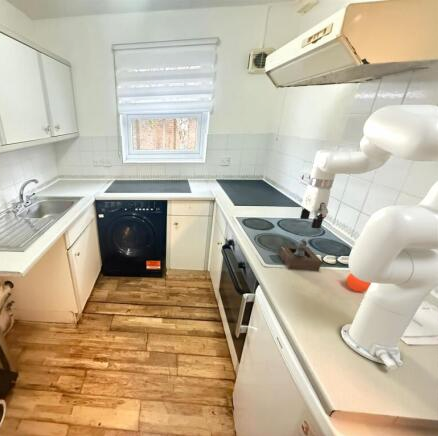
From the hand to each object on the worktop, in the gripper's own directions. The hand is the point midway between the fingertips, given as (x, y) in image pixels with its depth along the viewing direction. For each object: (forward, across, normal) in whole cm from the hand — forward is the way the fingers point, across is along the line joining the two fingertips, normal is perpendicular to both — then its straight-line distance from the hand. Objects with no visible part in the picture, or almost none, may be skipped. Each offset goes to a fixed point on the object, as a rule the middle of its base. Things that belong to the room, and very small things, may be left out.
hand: (309, 223), depth 98 cm
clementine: (+20, +15, +14) cm, 29 cm away
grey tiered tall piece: (+20, -1, 0) cm, 20 cm away
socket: (+20, -1, 0) cm, 20 cm away
